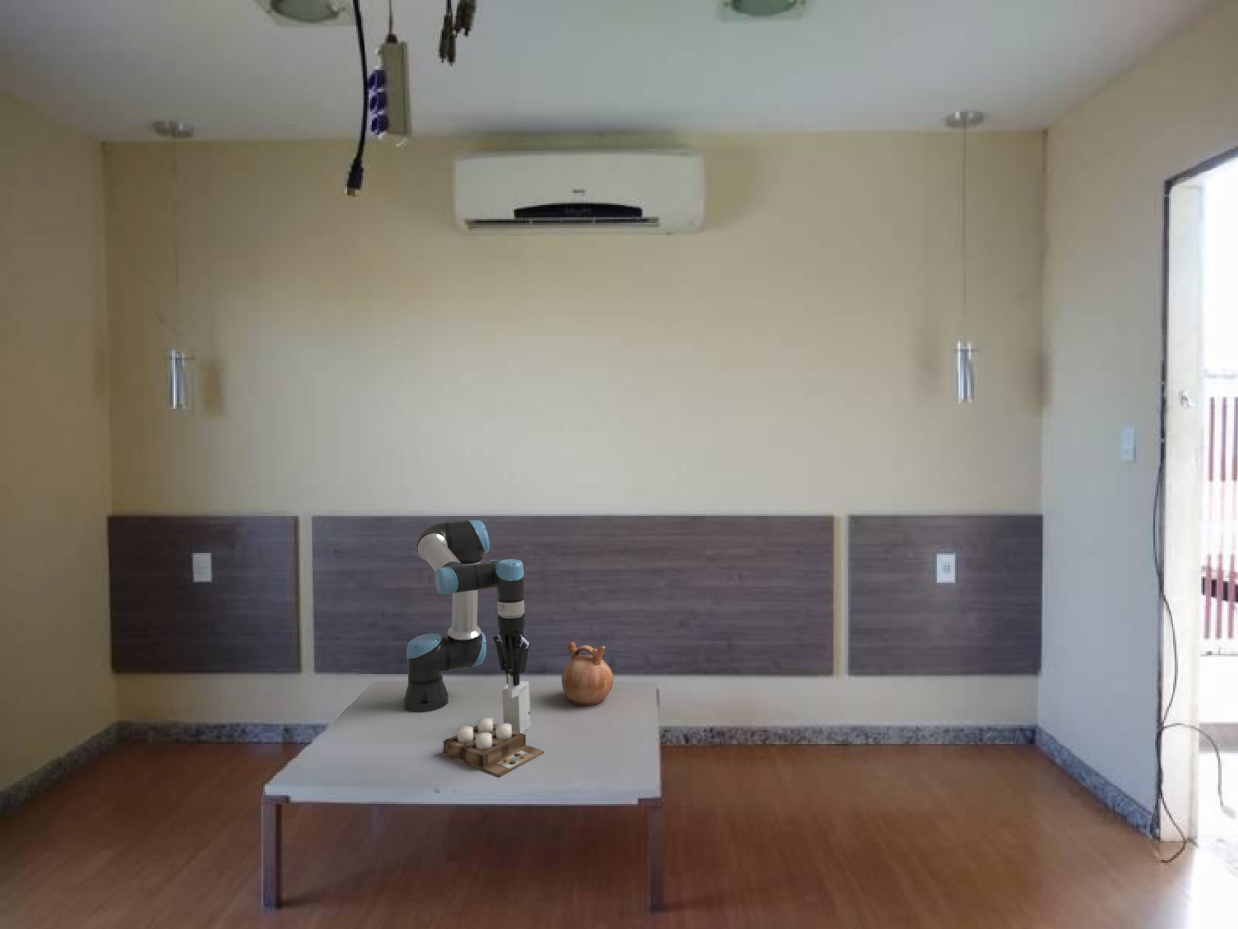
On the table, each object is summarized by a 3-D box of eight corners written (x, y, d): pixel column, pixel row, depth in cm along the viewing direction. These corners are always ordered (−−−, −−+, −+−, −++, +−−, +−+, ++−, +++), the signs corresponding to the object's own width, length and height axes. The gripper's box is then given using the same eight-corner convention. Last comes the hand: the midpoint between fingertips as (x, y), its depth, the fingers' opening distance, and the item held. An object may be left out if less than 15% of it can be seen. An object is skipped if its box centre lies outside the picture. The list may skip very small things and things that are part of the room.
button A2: (474, 733, 230) (474, 721, 230) (485, 728, 233) (485, 716, 233) (485, 737, 227) (484, 724, 227) (496, 732, 231) (495, 719, 230)
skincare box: (520, 737, 234) (519, 690, 233) (502, 734, 236) (501, 688, 235) (531, 726, 242) (530, 680, 241) (514, 724, 244) (513, 679, 243)
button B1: (472, 750, 219) (472, 736, 218) (484, 744, 222) (484, 731, 222) (483, 754, 216) (483, 740, 216) (495, 748, 220) (495, 735, 219)
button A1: (454, 743, 223) (453, 730, 223) (466, 737, 227) (465, 724, 227) (464, 747, 221) (464, 733, 220) (476, 741, 224) (476, 728, 224)
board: (442, 754, 223) (442, 741, 223) (487, 733, 237) (487, 721, 237) (499, 777, 208) (499, 762, 208) (544, 753, 223) (543, 739, 222)
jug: (624, 695, 267) (623, 640, 266) (595, 713, 252) (594, 654, 250) (581, 686, 277) (580, 632, 275) (551, 702, 262) (549, 646, 260)
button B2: (493, 740, 225) (492, 727, 225) (504, 735, 229) (503, 722, 228) (504, 744, 222) (503, 731, 222) (515, 738, 226) (514, 725, 226)
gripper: (485, 614, 215) (487, 695, 217) (518, 621, 208) (520, 705, 209) (504, 608, 221) (506, 687, 223) (537, 615, 214) (539, 696, 215)
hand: (513, 695), depth 216 cm, fingers closed
